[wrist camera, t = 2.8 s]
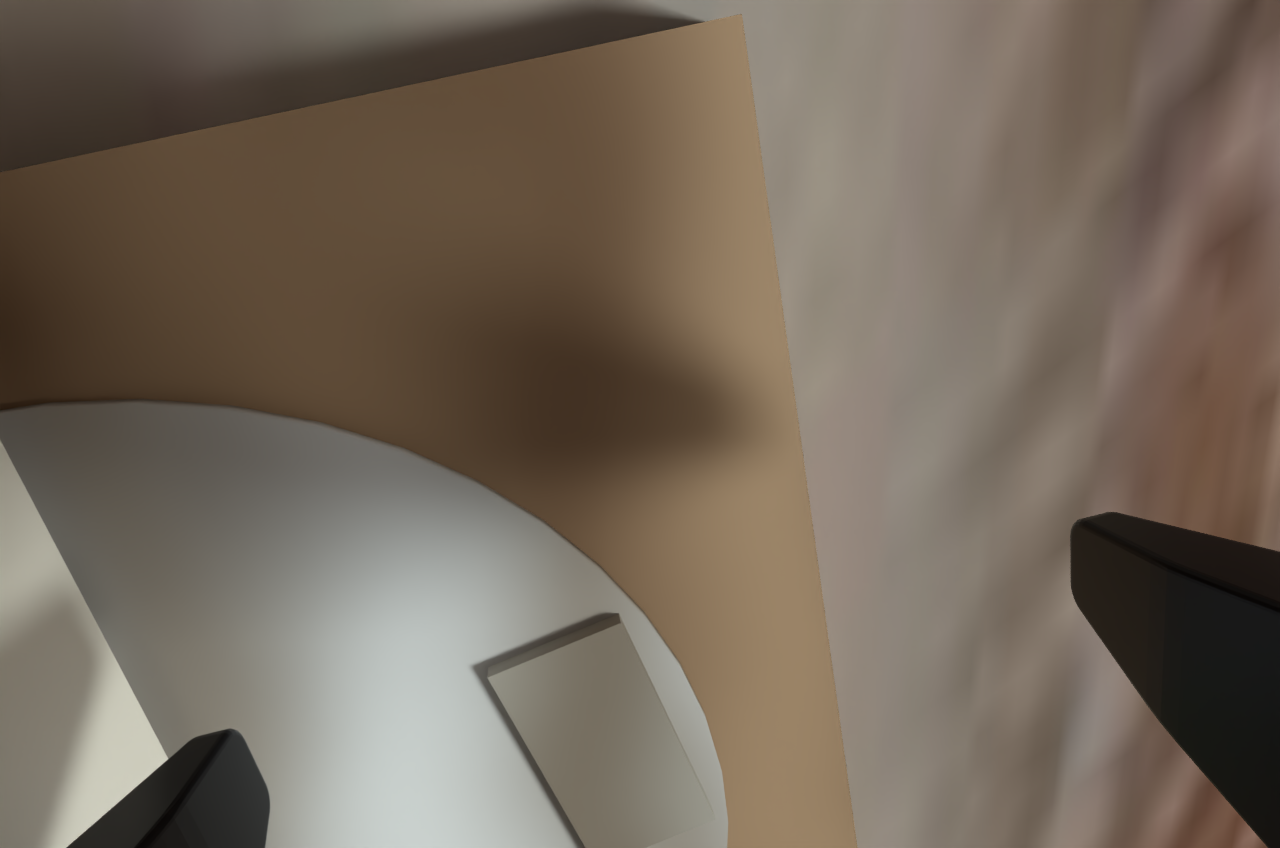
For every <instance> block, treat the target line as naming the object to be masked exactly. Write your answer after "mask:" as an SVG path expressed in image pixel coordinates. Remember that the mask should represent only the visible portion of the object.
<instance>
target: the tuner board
mask: <svg viewBox="0 0 1280 848" xmlns="http://www.w3.org/2000/svg"><path fill="white" fill-rule="evenodd" d="M0 440H1V442H2V444H3V446H4V448H5V450H6V452H7V454H8V456H9V458H10V459H11V461H12V463H13V465H14V467H15V469H16V471H17V473H18V475H19V476H20V478H21V480H22V482H23V484H24V486H25V488H26V490H27V492H28V494H29V495H30V497H31V499H32V501H33V503H34V505H35V507H36V509H37V511H38V513H39V514H40V516H41V518H42V520H43V522H44V524H45V526H46V528H47V530H48V532H49V533H50V535H51V537H52V539H53V541H54V543H55V545H56V547H57V549H58V551H59V552H60V554H61V556H62V558H63V560H64V562H65V564H66V566H67V568H68V569H69V571H70V573H71V575H72V577H73V579H74V581H75V583H76V585H77V587H78V588H79V590H80V592H81V594H82V596H83V598H84V600H85V602H86V604H87V606H88V607H89V609H90V611H91V613H92V615H93V617H94V619H95V621H96V623H97V625H98V626H99V628H100V630H101V632H102V634H103V636H104V638H105V640H106V642H107V643H108V645H109V647H110V649H111V651H112V653H113V655H114V657H115V659H116V661H117V662H118V664H119V666H120V668H121V670H122V672H123V674H124V676H125V678H126V680H127V681H128V683H129V685H130V687H131V689H132V691H133V693H134V695H135V697H136V699H137V700H138V702H139V704H140V706H141V708H142V710H143V712H144V714H145V716H146V717H147V719H148V721H149V723H150V725H151V727H152V729H153V731H154V733H155V735H156V736H157V738H158V740H159V742H160V744H161V746H162V748H163V750H164V752H165V754H166V755H167V757H168V759H169V758H170V757H171V756H172V755H173V754H175V753H176V752H177V751H178V750H179V749H180V748H181V747H183V746H184V745H185V744H186V743H187V742H188V741H190V740H191V739H192V738H195V737H197V736H200V735H204V734H208V733H212V732H216V731H220V730H225V729H229V728H232V729H235V730H237V731H239V732H240V733H241V734H242V736H243V737H244V739H245V741H246V743H247V745H248V747H249V749H250V751H251V753H252V755H253V757H254V760H255V762H256V764H257V766H258V768H259V770H260V772H261V774H262V776H263V778H264V781H265V783H266V785H267V788H268V791H269V796H270V816H269V824H268V831H267V839H266V846H265V848H857V841H856V834H855V827H854V820H853V812H852V805H851V798H850V791H849V784H848V776H847V769H846V762H845V755H844V747H843V740H842V733H841V726H840V719H839V711H838V704H837V697H836V690H835V683H834V675H833V668H832V661H831V654H830V647H829V639H828V632H827V625H826V618H825V610H824V603H823V596H822V589H821V582H820V574H819V567H818V560H817V553H816V546H815V538H814V531H813V524H812V517H811V510H810V502H809V495H808V488H807V481H806V474H805V466H804V459H803V452H802V445H801V437H800V430H799V423H798V416H797V409H796V401H795V394H794V387H793V380H792V373H791V365H790V358H789V351H788V344H787V337H786V329H785V322H784V315H783V308H782V300H781V293H780V286H779V279H778V272H777V264H776V257H775V250H774V243H773V236H772V228H771V221H770V214H769V207H768V200H767V192H766V185H765V178H764V171H763V164H762V156H761V149H760V142H759V135H758V127H757V120H756V113H755V106H754V99H753V91H752V84H751V77H750V70H749V63H748V55H747V48H746V41H745V34H744V27H743V19H742V14H740V15H735V16H730V17H726V18H721V19H716V20H711V21H707V22H702V23H697V24H693V25H688V26H683V27H679V28H674V29H669V30H665V31H660V32H655V33H651V34H646V35H641V36H637V37H632V38H627V39H622V40H618V41H613V42H608V43H604V44H599V45H594V46H590V47H585V48H580V49H576V50H571V51H566V52H562V53H557V54H552V55H547V56H543V57H538V58H533V59H529V60H524V61H519V62H515V63H510V64H505V65H501V66H496V67H491V68H487V69H482V70H477V71H473V72H468V73H463V74H458V75H454V76H449V77H444V78H440V79H435V80H430V81H426V82H421V83H416V84H412V85H407V86H402V87H398V88H393V89H388V90H384V91H379V92H374V93H369V94H365V95H360V96H355V97H351V98H346V99H341V100H337V101H332V102H327V103H323V104H318V105H313V106H309V107H304V108H299V109H295V110H290V111H285V112H280V113H276V114H271V115H266V116H262V117H257V118H252V119H248V120H243V121H238V122H234V123H229V124H224V125H220V126H215V127H210V128H205V129H201V130H196V131H191V132H187V133H182V134H177V135H173V136H168V137H163V138H159V139H154V140H149V141H145V142H140V143H135V144H131V145H126V146H121V147H116V148H112V149H107V150H102V151H98V152H93V153H88V154H84V155H79V156H74V157H70V158H65V159H60V160H56V161H51V162H46V163H42V164H37V165H32V166H27V167H23V168H18V169H13V170H9V171H4V172H0Z"/></svg>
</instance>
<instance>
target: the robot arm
mask: <svg viewBox="0 0 1280 848" xmlns="http://www.w3.org/2000/svg"><path fill="white" fill-rule="evenodd" d="M1070 550H1071V589H1072V594H1073V596H1074V599H1075V601H1076V604H1077V606H1078V607H1079V609H1080V610H1081V612H1082V613H1083V615H1084V616H1085V617H1086V619H1087V620H1088V622H1089V623H1090V625H1091V626H1092V627H1093V629H1094V630H1095V632H1096V633H1097V635H1098V636H1099V637H1100V639H1101V640H1102V642H1103V643H1104V645H1105V646H1106V647H1107V649H1108V650H1109V652H1110V653H1111V654H1112V656H1113V657H1114V659H1115V660H1116V662H1117V663H1118V664H1119V666H1120V667H1121V669H1122V670H1123V672H1124V673H1125V674H1126V676H1127V677H1128V679H1129V680H1130V682H1131V683H1132V684H1133V686H1134V687H1135V689H1136V690H1137V691H1138V693H1139V694H1140V696H1141V697H1142V699H1143V700H1144V701H1145V703H1146V704H1147V706H1148V707H1149V708H1150V710H1151V711H1152V712H1153V714H1154V715H1155V716H1156V718H1157V719H1158V720H1159V722H1160V723H1161V724H1162V725H1163V726H1164V728H1165V729H1166V730H1167V731H1168V732H1169V734H1170V735H1171V736H1172V737H1173V739H1174V740H1175V741H1176V742H1177V743H1178V744H1179V746H1180V747H1181V748H1182V749H1183V750H1184V751H1185V753H1186V754H1187V755H1188V756H1189V757H1190V758H1191V759H1192V761H1193V762H1194V763H1195V764H1196V765H1197V766H1198V767H1199V769H1200V770H1201V771H1202V772H1203V773H1204V774H1205V776H1206V777H1207V778H1208V779H1209V780H1210V781H1211V782H1212V784H1213V785H1214V786H1215V787H1216V788H1217V789H1218V791H1219V792H1220V793H1221V794H1222V795H1223V796H1224V797H1225V799H1226V800H1227V801H1228V802H1229V803H1230V804H1231V806H1232V807H1233V808H1234V809H1235V810H1236V811H1237V812H1238V814H1239V815H1240V816H1241V817H1242V818H1243V819H1244V821H1245V822H1246V823H1247V824H1248V825H1249V826H1250V827H1251V829H1252V830H1253V831H1254V832H1255V833H1256V834H1257V835H1258V837H1259V838H1260V839H1261V840H1262V841H1263V842H1264V844H1265V845H1266V846H1267V847H1268V848H1280V552H1279V551H1275V550H1271V549H1266V548H1262V547H1258V546H1254V545H1250V544H1246V543H1242V542H1237V541H1233V540H1229V539H1225V538H1221V537H1217V536H1212V535H1208V534H1204V533H1200V532H1196V531H1192V530H1187V529H1183V528H1179V527H1175V526H1171V525H1167V524H1163V523H1158V522H1154V521H1150V520H1146V519H1142V518H1138V517H1133V516H1129V515H1125V514H1121V513H1117V512H1106V513H1103V514H1099V515H1095V516H1091V517H1087V518H1083V519H1079V520H1077V521H1076V522H1075V523H1074V524H1073V526H1072V529H1071V535H1070ZM269 816H270V796H269V791H268V788H267V785H266V783H265V781H264V778H263V776H262V774H261V772H260V770H259V768H258V766H257V764H256V762H255V760H254V757H253V755H252V753H251V751H250V749H249V747H248V745H247V743H246V741H245V739H244V737H243V736H242V734H241V733H240V732H239V731H237V730H235V729H232V728H229V729H225V730H220V731H216V732H212V733H208V734H204V735H200V736H197V737H195V738H192V739H191V740H190V741H188V742H187V743H186V744H185V745H184V746H183V747H181V748H180V749H179V750H178V751H177V752H176V753H175V754H173V755H172V756H171V757H170V758H169V759H168V760H167V761H165V762H164V763H163V764H162V765H161V766H160V767H158V768H157V769H156V770H155V771H154V772H153V773H152V774H150V775H149V776H148V777H147V778H146V779H145V780H144V781H142V782H141V783H140V784H139V785H138V786H137V787H135V788H134V789H133V790H132V791H131V792H130V793H129V794H127V795H126V796H125V797H124V798H123V799H122V800H120V801H119V802H118V803H117V804H116V805H115V806H114V807H112V808H111V809H110V810H109V811H108V812H107V813H106V814H104V815H103V816H102V817H101V818H100V819H99V820H97V821H96V822H95V823H94V824H93V825H92V826H91V827H89V828H88V829H87V830H86V831H85V832H84V833H83V834H81V835H80V836H79V837H78V838H77V839H76V840H74V841H73V842H72V843H71V844H70V845H69V846H68V847H66V848H265V846H266V839H267V831H268V824H269Z"/></svg>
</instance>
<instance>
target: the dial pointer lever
mask: <svg viewBox="0 0 1280 848" xmlns="http://www.w3.org/2000/svg"><path fill="white" fill-rule="evenodd" d="M167 760H168V757H167V755H166V754H165V752H164V750H163V748H162V746H161V744H160V742H159V740H158V738H157V736H156V735H155V733H154V731H153V729H152V727H151V725H150V723H149V721H148V719H147V717H146V716H145V714H144V712H143V710H142V708H141V706H140V704H139V702H138V700H137V699H136V697H135V695H134V693H133V691H132V689H131V687H130V685H129V683H128V681H127V680H126V678H125V676H124V674H123V672H122V670H121V668H120V666H119V664H118V662H117V661H116V659H115V657H114V655H113V653H112V651H111V649H110V647H109V645H108V643H107V642H106V640H105V638H104V636H103V634H102V632H101V630H100V628H99V626H98V625H97V623H96V621H95V619H94V617H93V615H92V613H91V611H90V609H89V607H88V606H87V604H86V602H85V600H84V598H83V596H82V594H81V592H80V590H79V588H78V587H77V585H76V583H75V581H74V579H73V577H72V575H71V573H70V571H69V569H68V568H67V566H66V564H65V562H64V560H63V558H62V556H61V554H60V552H59V551H58V549H57V547H56V545H55V543H54V541H53V539H52V537H51V535H50V533H49V532H48V530H47V528H46V526H45V524H44V522H43V520H42V518H41V516H40V514H39V513H38V511H37V509H36V507H35V505H34V503H33V501H32V499H31V497H30V495H29V494H28V492H27V490H26V488H25V486H24V484H23V482H22V480H21V478H20V476H19V475H18V473H17V471H16V469H15V467H14V465H13V463H12V461H11V459H10V458H9V456H8V454H7V452H6V450H5V448H4V446H3V444H2V442H1V440H0V848H66V847H68V846H69V845H70V844H71V843H72V842H73V841H74V840H76V839H77V838H78V837H79V836H80V835H81V834H83V833H84V832H85V831H86V830H87V829H88V828H89V827H91V826H92V825H93V824H94V823H95V822H96V821H97V820H99V819H100V818H101V817H102V816H103V815H104V814H106V813H107V812H108V811H109V810H110V809H111V808H112V807H114V806H115V805H116V804H117V803H118V802H119V801H120V800H122V799H123V798H124V797H125V796H126V795H127V794H129V793H130V792H131V791H132V790H133V789H134V788H135V787H137V786H138V785H139V784H140V783H141V782H142V781H144V780H145V779H146V778H147V777H148V776H149V775H150V774H152V773H153V772H154V771H155V770H156V769H157V768H158V767H160V766H161V765H162V764H163V763H164V762H165V761H167Z"/></svg>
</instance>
